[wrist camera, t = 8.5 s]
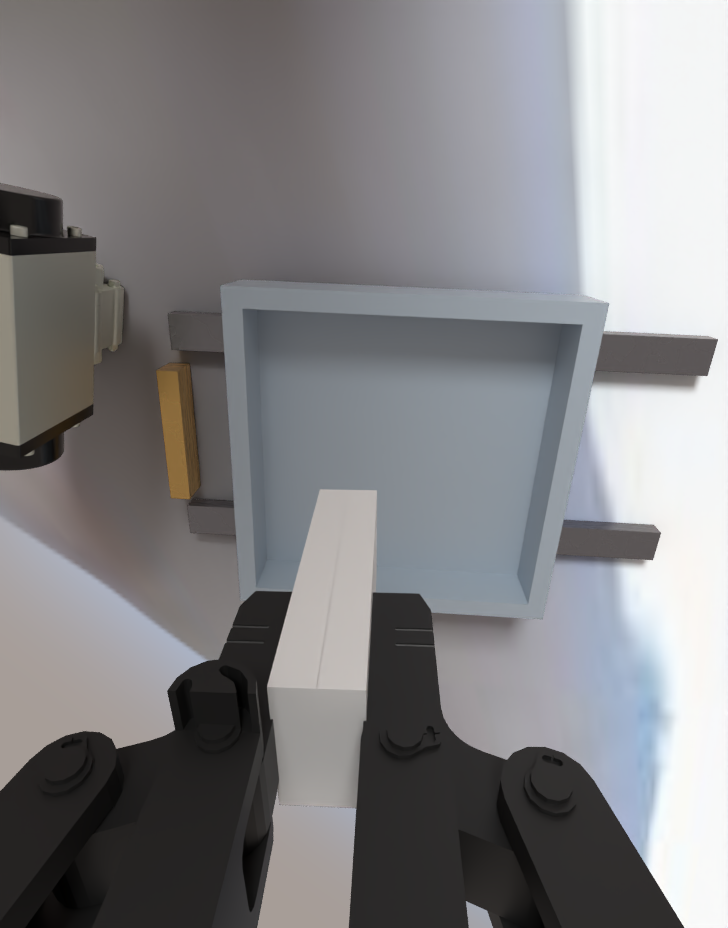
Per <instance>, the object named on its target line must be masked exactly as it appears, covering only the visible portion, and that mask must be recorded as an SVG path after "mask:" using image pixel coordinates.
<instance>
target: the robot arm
mask: <svg viewBox="0 0 728 928" xmlns="http://www.w3.org/2000/svg"><path fill="white" fill-rule="evenodd" d="M376 576H377V490H328V489H320V491H319V495H318V498H317V502H316V506H315V510H314V513H313V517H312V521H311V524H310V528H309V532H308V536H307V539H306V543H305V547H304V551H303V554H302V558H301V562H300V565H299V569H298V573H297V577H296V580H295V584H294V588H293V592H281V591H255V592H254V593H253V594H252V595H251V596H250V597H249V598H248V599H247V600H246V601H245V602H244V603H243V604H242V605H241V606H240V607H239V610H238V612H237V615H236V617H235V620H234V622H233V628H231V630H230V633H229V635H228V638H227V643H225V645H224V648H223V650H222V653H221V655H220V658H219V660H211V661H206V662H203V663H201V664H198V665H196V666H193V667H191V668H189V669H188V670H187V671H185V672H184V673H183V674H181V675H180V676H179V677H177V678H176V680H175V681H174V682H173V684H172V685H171V686H170V688H169V689H168V691H167V692H168V697H169V701H170V706H171V711H172V716H173V721H174V725H175V731H173V732H171V733H169V734H167V735H165V736H163V737H160V738H157V739H154V740H151V741H147V742H143V743H139V744H135V745H131V746H127V747H123V748H119V749H116V748H115V745H114V743H113V741H112V739H110V738H109V737H107V736H105V735H104V734H102V733H100V732H86V731H83V732H79V733H75V734H71V735H67V736H64V737H62V738H60V739H58V740H56V741H54V742H53V743H51V744H49V745H47V746H46V747H44V748H43V749H42V750H41V751H40V752H38V753H37V754H36V755H35V756H34V757H33V758H31V759H30V760H29V761H28V762H27V763H26V764H25V766H24V767H23V768H22V769H21V770H20V771H19V772H18V773H17V774H16V775H15V776H14V777H13V778H12V779H11V781H10V782H9V783H8V784H7V785H6V786H5V787H4V788H3V789H2V790H1V791H0V928H257V925H258V920H259V914H260V909H261V904H262V898H263V893H264V887H265V882H266V877H267V872H268V866H269V860H270V855H271V851H272V845H273V820H272V814H273V809H274V804H275V799H276V794H277V789H278V796H279V805H294V806H318V807H340V808H356V809H357V810H356V824H355V840H354V856H353V871H352V887H351V904H350V920H349V928H468V917H467V908H466V901H468V902H470V903H472V904H474V905H476V906H478V907H481V908H483V909H485V910H487V911H488V914H489V917H490V920H491V923H492V926H493V928H684V926H683V925H682V923H681V922H680V920H679V918H678V917H677V915H676V913H675V912H674V910H673V909H672V907H671V905H670V904H669V902H668V900H667V899H666V897H665V896H664V894H663V892H662V891H661V889H660V887H659V886H658V884H657V883H656V881H655V879H654V878H653V876H652V874H651V873H650V871H649V870H648V868H647V866H646V865H645V863H644V861H643V860H642V858H641V857H640V855H639V853H638V852H637V850H636V848H635V847H634V845H633V844H632V842H631V840H630V839H629V837H628V835H627V834H626V832H625V830H624V829H623V827H622V826H621V824H620V822H619V821H618V819H617V817H616V816H615V814H614V813H613V811H612V809H611V808H610V806H609V804H608V803H607V801H606V800H605V798H604V796H603V795H602V793H601V791H600V790H599V788H598V787H597V785H596V783H595V782H594V780H593V779H592V778H591V777H590V775H589V774H588V773H587V772H586V771H585V769H584V768H583V767H582V766H581V765H580V764H579V763H577V762H576V761H574V760H573V759H571V758H570V757H568V756H567V755H565V754H564V753H562V752H559V751H556V750H552V749H549V748H546V747H526V748H524V749H522V750H519V751H517V752H514V753H513V754H512V755H511V756H510V757H509V759H508V760H505V759H503V758H500V757H497V756H494V755H491V754H488V753H485V752H482V751H480V750H478V749H476V748H473V747H471V746H469V745H468V744H466V743H465V742H463V741H462V740H461V739H459V738H458V737H457V736H456V735H455V734H454V733H453V732H452V731H451V729H450V728H449V727H448V725H447V723H446V721H445V720H444V718H443V714H442V710H441V705H440V695H439V685H438V675H437V665H436V655H435V648H434V635H433V625H432V616H431V609H430V608H429V606H428V605H427V604H426V602H425V601H424V599H423V598H422V596H421V595H420V594H417V593H379V592H376Z"/></svg>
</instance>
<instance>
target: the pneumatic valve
mask: <svg viewBox="0 0 728 928" xmlns="http://www.w3.org/2000/svg"><path fill="white" fill-rule="evenodd" d="M103 280H104V269H103V266H102V265H100V264H97V263H96V237H92V236H88V235H83V234H82V230H81V228H78V227H73V226H68V227H67V231H66V230H63V201H62V199H61V198H59V197H56V196H53V195H50V194H46V193H42V192H38V191H34V190H30V189H26V188H21V187H17V186H12V185H8V184H3V183H0V470H24V469H31V468H37V467H41V466H44V465H47V464H50V463H52V462H54V461H56V460H57V459H58V458H60V457H61V455H62V454H63V452H64V432H65V431H66V430H68V429H70V428H71V427H79V426H80V422H81V421H83V420H85V419H86V418H88V417H90V416H91V415H93V391H94V365H96V364H99V363H100V362H102V349H104V348H108V349H109V350H110V351H115V350H117V349H118V345H119V344H122V330H123V304H124V288H123V287H121V285H120V281H117V280H109V284H104V283H103Z"/></svg>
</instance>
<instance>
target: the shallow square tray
mask: <svg viewBox="0 0 728 928" xmlns="http://www.w3.org/2000/svg"><path fill="white" fill-rule="evenodd" d="M220 293H221V309H222V324H223V340H224V356H225V371H226V387H227V403H228V418H229V434H230V450H231V465H232V481H233V497H234V512H235V528H236V544H237V559H238V575H239V591H240V600H241V601H246V600H247V599H248V598H249V597H250V596H251V595H252V594H253V593H254V592H255V591H281V592H293V588H294V584H295V580H296V577H297V573H298V569H299V565H300V562H301V558H302V554H303V551H304V547H305V543H306V539H307V536H308V532H309V528H310V524H311V521H312V517H313V513H314V510H315V506H316V502H317V498H318V495H319V491H320V489H328V490H377V576H376V592H379V593H417V594H420V595H421V596H422V598H423V599H424V601H425V602H426V604H427V605H428V606H429V608H430V609H431V613H447V614H463V615H479V616H495V617H511V618H526V619H542V620H543V615H544V611H545V606H546V601H547V596H548V592H549V587H550V582H551V577H552V573H553V568H554V563H555V558H556V554H557V549H558V544H559V539H560V535H561V530H562V525H563V520H564V516H565V511H566V506H567V501H568V497H569V492H570V487H571V482H572V478H573V473H574V468H575V463H576V459H577V454H578V449H579V444H580V440H581V435H582V430H583V425H584V421H585V416H586V411H587V406H588V402H589V397H590V392H591V387H592V383H593V378H594V373H595V368H596V364H597V359H598V354H599V349H600V345H601V340H602V335H603V330H604V326H605V321H606V316H607V311H608V307H609V303H607V302H604V301H600V300H597V299H594V298H591V297H588V296H585V295H576V294H554V293H532V292H509V291H487V290H465V289H443V288H420V287H398V286H376V285H353V284H331V283H309V282H287V281H264V280H242V279H241V280H238V281H234V282H231V283H227V284H224V285H221V286H220Z"/></svg>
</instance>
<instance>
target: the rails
mask: <svg viewBox="0 0 728 928" xmlns="http://www.w3.org/2000/svg"><path fill="white" fill-rule="evenodd" d="M168 319H169V329H170V339H171V349H172V350H188V351H209V352H224V340H223V324H222V313H202V312H181V311H174V312H171V313H168ZM717 341H718V339H715V338H712V337H709V336H693V335H671V334H650V333H629V332H607V331H603V335H602V340H601V345H600V349H599V354H598V359H597V364H596V368H595V370H596V371H616V372H637V373H657V374H678V375H698V376H707V375H708V372H709V368H710V365H711V362H712V358H713V355H714V351H715V348H716V345H717ZM156 374H157V383H158V391H159V400H160V409H161V417H162V426H163V435H164V443H165V452H166V461H167V469H168V478H169V487H170V495H171V498H177V499H191V497H192V496H193V495H194V493H195V492H196V491H197V489H198V488H199V487H200V485H201V484H200V473H199V462H198V451H197V440H196V429H195V417H194V406H193V395H192V384H191V373H190V364H185V363H168V364H167V365H165V366H163V367H161V368H160V369H158V370H156ZM188 515H189V525H190V533H206V534H223V535H236V528H235V512H234V501H227V500H210V499H192V500H191V502H190V503H189V504H188ZM660 534H661V532H660V531H659V530H658V529H657V528H656V527H655V526H654V525H645V524H628V523H611V522H593V521H576V520H563V525H562V530H561V535H560V539H559V544H558V549H557V554H560V555H577V556H594V557H611V558H628V559H645V560H653V558H654V555H655V551H656V548H657V544H658V541H659V538H660Z"/></svg>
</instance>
